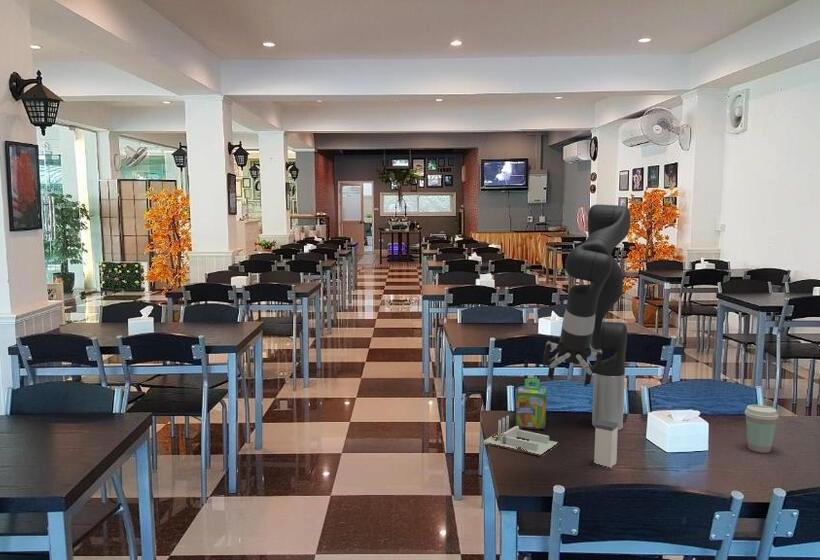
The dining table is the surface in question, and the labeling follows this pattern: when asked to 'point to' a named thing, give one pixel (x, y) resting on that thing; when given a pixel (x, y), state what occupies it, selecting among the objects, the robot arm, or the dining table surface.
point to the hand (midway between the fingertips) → (568, 381)
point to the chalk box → (531, 405)
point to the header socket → (508, 439)
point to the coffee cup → (760, 427)
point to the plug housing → (606, 443)
